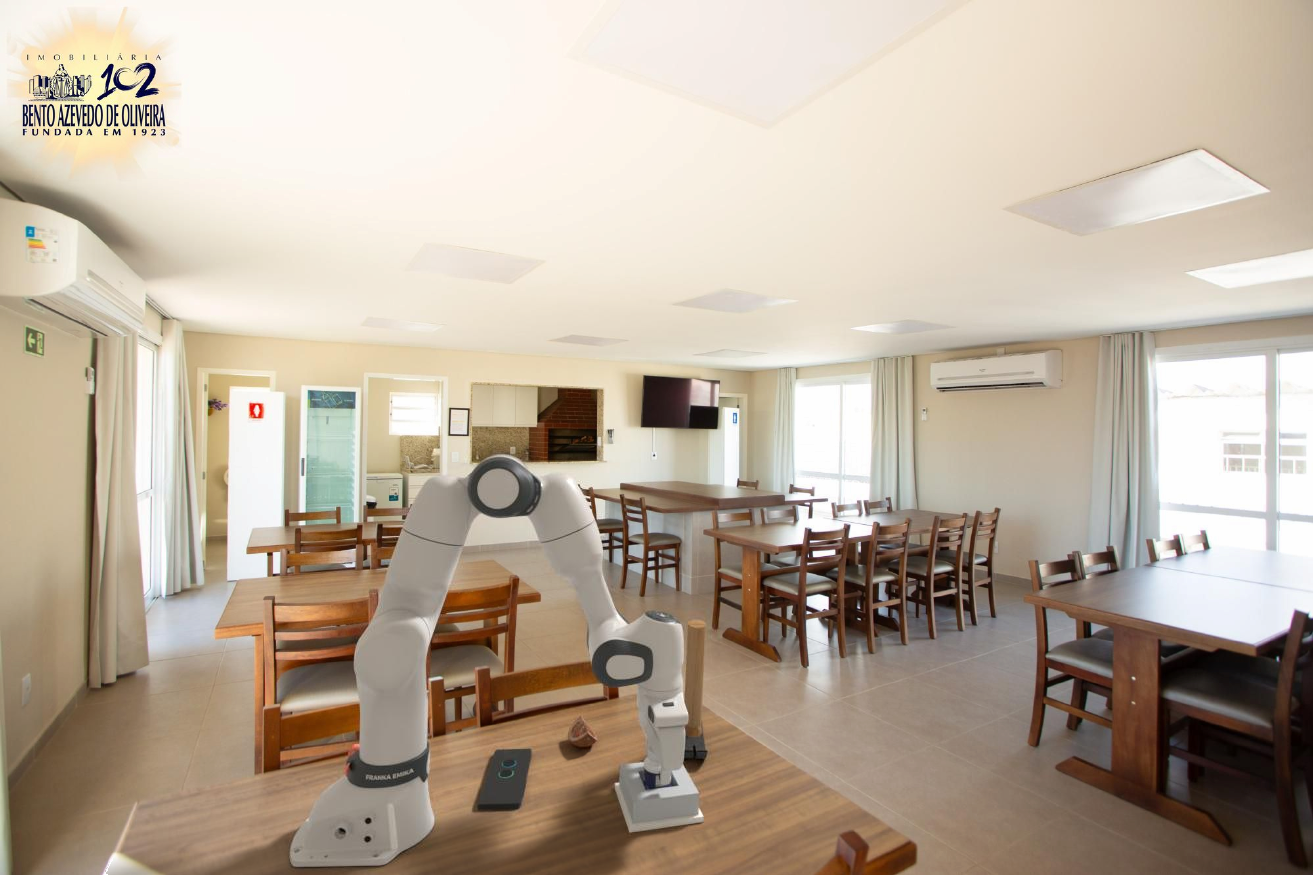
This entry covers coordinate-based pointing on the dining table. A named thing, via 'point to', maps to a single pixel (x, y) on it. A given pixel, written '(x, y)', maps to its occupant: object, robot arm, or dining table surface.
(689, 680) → the hammer
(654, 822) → the socket block
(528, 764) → the smart home device
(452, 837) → the dining table surface
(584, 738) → the fruit slice
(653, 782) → the pill bottle
